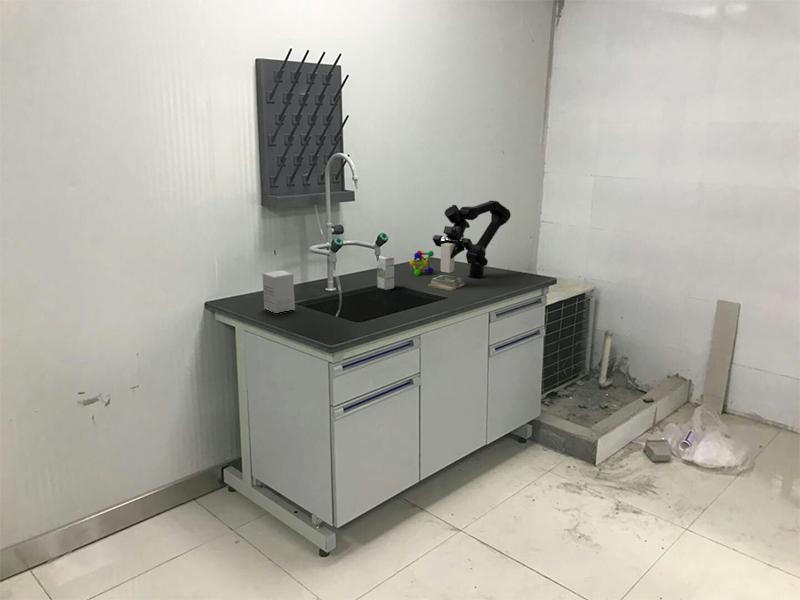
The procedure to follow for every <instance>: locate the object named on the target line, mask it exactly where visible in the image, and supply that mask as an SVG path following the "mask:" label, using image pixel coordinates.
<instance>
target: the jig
mask: <svg viewBox="0 0 800 600" xmlns="http://www.w3.org/2000/svg"><path fill="white" fill-rule="evenodd" d="M430 281H431V283H429V284H427V286H428V287H429V288H435V289H442V290H446V291H447V290H448V291H455V290H456V289H459V288H461V287H464V286H466V282H463V277H459V276H453V275H448V274H441V275H439V276H436V277H433V278H431V279H430Z"/></svg>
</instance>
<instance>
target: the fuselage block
mask: <svg viewBox="0 0 800 600" xmlns="http://www.w3.org/2000/svg"><path fill="white" fill-rule="evenodd" d="M454 247H455V244H451V243H444V244H441V247H440V272H442V273H448V274H450V273H452V272H454V271H455V257H453V258H452V259H451V258H450V257H451V254H452V252H453V249H454Z"/></svg>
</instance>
